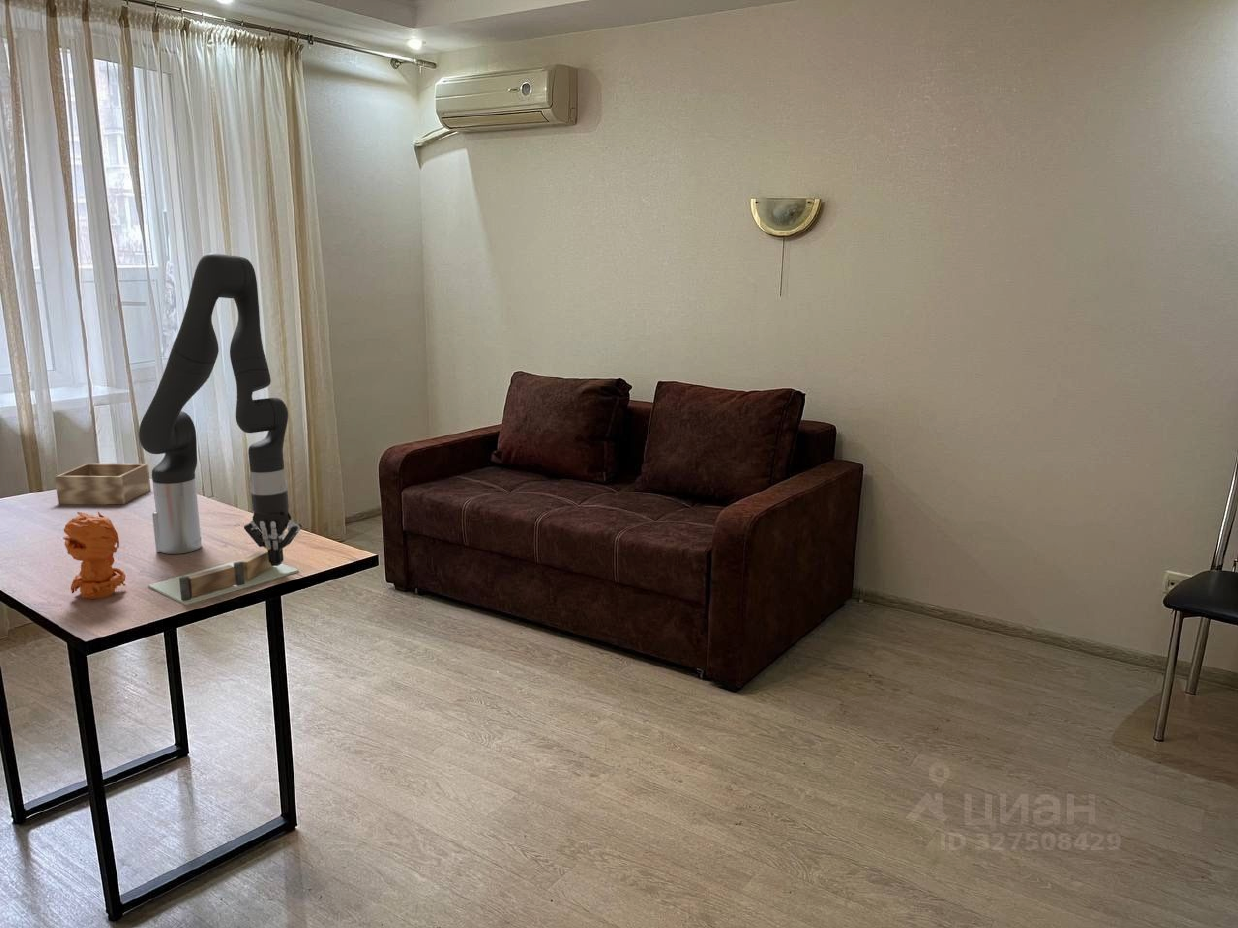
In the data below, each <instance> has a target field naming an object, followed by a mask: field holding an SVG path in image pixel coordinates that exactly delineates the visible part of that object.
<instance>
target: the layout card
mask: <svg viewBox="0 0 1238 928" xmlns="http://www.w3.org/2000/svg"><path fill="white" fill-rule="evenodd" d="M243 559H244V558H243ZM243 559H240V560H235V561H231V562H227V563H225V564H221V565H217V566H213V567H211V568H210V567H208V568H206V569H203V570H199V571H195V572H191V573H187V574H183V575H181V576H176V577H172V578H169V579H166V580H163V581H158V582H153V583H150V584H147V587H148V589H151V590H153V591H155V592H157V593H160V595H164V596H166V597H167V598H170V599H172V600H174V601H176V602H178V603H180V604H182V605H185V606H188V605H189V606H190V605H191V604H195V603H199V602H201V601H205V600H209V599H211V598H216V597H219V596H222V595H226V594H228V593H229V594H230V593H232V592H235V591H240V590H242V589H246V588H250V587H253V586H255V585H259V584H263V583H265V582H270V581H273V580H277V579H280V578H283V577H286V576H290V575H293V574H296V573H299V572H300V571H299V569H298V568H295V567H292V566H290V565H286V564H284V563H283V562H282V563H281V564H280V565H279V566H273V567H271V568H269V569H267V570H266V571H264V572H262V573H260V574H258V575H256V576H254V577H253V578H251V579H249V580H245V579H244V584H242V585H233V586H230V587H226V588H223V589H219V590H216V591H213V592H209V593H206V594H202V595H199V596H195V597H191V599H190V600H187V601H182V600H181V592H180V582H179V578H180V577H182V576H191V575H194V574H198V573H202V572H205V571H209V570H213V569H216V568H220V567H224V566H227V565H231V566H233V567H234V563H235V562H239V561H241V560H243Z"/></svg>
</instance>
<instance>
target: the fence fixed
mask: <svg viewBox="0 0 1238 928" xmlns="http://www.w3.org/2000/svg"><path fill="white" fill-rule="evenodd" d="M238 561H239V560H238ZM234 562H235V561H234ZM181 576H182V577H180V576H179V577H180V578H179V582H180V592H181V600H182V601H187V600H190V599H191V597H195V596H199V595H202V594H206V593H209V592H213V591H216V590H219V589H223V588H226V587H230V586H233V585H242V584H244V571H243V562H241V561H239V562H235V563H234V567H233V566H231V565H227V566H224V567H220V568H216V569H213V570H209V571H205V572H202V573H198V574H194V575H191V576H183V575H181Z"/></svg>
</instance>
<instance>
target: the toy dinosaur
mask: <svg viewBox="0 0 1238 928" xmlns="http://www.w3.org/2000/svg"><path fill="white" fill-rule="evenodd" d="M76 513H77V514H78V515H79V516H76V517H73V518H71V520H69V521H67V523H66V524H65V525H64V528H63V532H64V534H66V536H63V537H62V539H63V540H64V547H65V549H66V551H67V552H66V553H67V554H68V555H71V557H72V559H73V560H75V561H82V562H81V565H80V572H79V574H78V575H75V577H74V578H73V580H72V583H71V585H70V590H71V594H74V593H75V592H77V591H78V589H79V593H80V595H81V597H82V598H85V599H91V600H92V599H93V600H94V599H101V598H106V597H109V596H112V595H114V594H115V592H116V589H118V587H120V586H123V587H124V586H126V584H125V583H124V581H125V582H126V575H125V573H124V571H123V570H122V569H120V568H116V567H113V565H114V564H115V557H114V554H116V553H118V548H119V547H120V540H119V535H118V534H119V533H118V531H117V530H116V528H115V526H114V524H113V521H112V520H111V519H110V518H109V517H106V516H104V515H101V513H100V512H99V511H97V514H98V516H95V515H91V514H88V513H85V512H81V511H77V512H76Z"/></svg>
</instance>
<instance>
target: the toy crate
mask: <svg viewBox="0 0 1238 928" xmlns="http://www.w3.org/2000/svg"><path fill="white" fill-rule="evenodd" d="M54 479H55V487H56V494H57V502H58V505H106V504H124V505H126V504H127V503H129V502H131V501H133V500H134V499H137V498H138V496H139V497H140V496H142V495H144V494H146V493H148V492H150V491H152V490H151V481H150V472H149V464H148V463H90V462H89V463H84V464H81V465H80V466H77V467H74V468H71V469H69V470H68V471H64V472H63V473H61V474H58V475H55V476H54ZM126 502H127V503H126Z"/></svg>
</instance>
